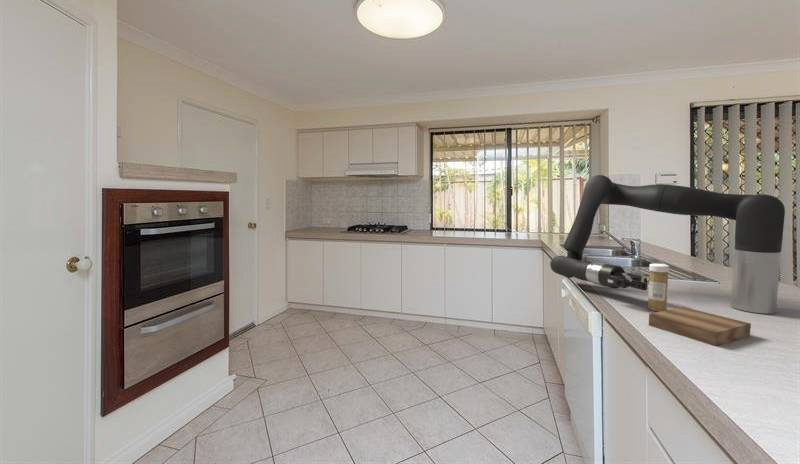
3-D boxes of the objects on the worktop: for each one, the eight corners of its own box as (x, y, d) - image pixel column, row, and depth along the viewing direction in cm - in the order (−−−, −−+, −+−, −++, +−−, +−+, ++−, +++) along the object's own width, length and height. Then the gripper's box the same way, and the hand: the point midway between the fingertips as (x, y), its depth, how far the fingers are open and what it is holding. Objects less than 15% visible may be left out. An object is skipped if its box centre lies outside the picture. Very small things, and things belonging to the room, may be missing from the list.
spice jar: (669, 310, 99) (671, 264, 98) (662, 313, 97) (665, 266, 96) (651, 306, 103) (653, 262, 102) (644, 309, 101) (646, 264, 99)
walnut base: (681, 317, 93) (682, 306, 93) (749, 335, 80) (750, 323, 80) (648, 325, 88) (649, 313, 88) (715, 346, 75) (716, 332, 75)
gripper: (590, 265, 112) (640, 274, 97) (619, 262, 117) (672, 270, 102) (589, 288, 112) (639, 300, 97) (618, 283, 118) (671, 295, 103)
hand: (656, 285), depth 100 cm, fingers open, 8 cm apart
